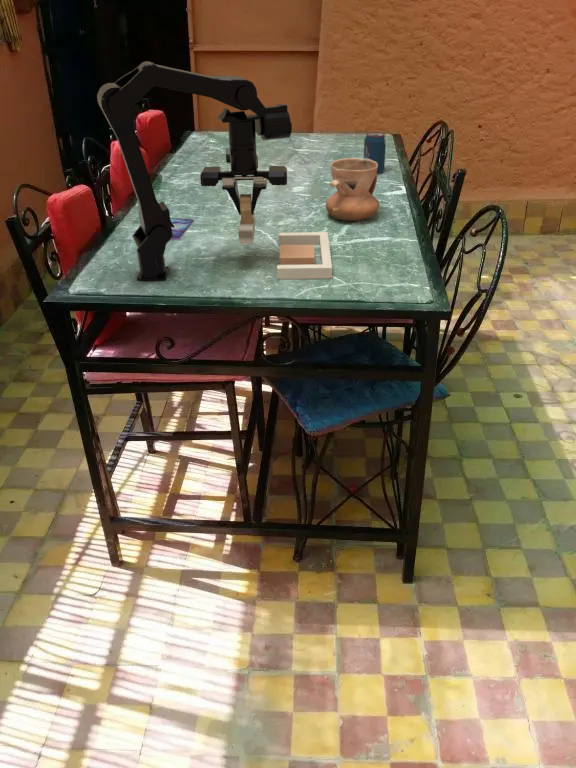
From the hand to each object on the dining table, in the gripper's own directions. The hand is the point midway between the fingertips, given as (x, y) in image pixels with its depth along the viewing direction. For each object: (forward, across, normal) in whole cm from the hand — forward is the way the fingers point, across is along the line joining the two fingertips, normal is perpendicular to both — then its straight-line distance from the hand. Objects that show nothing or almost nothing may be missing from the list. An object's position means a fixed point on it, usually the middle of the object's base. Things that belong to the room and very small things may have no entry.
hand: (246, 214), depth 144 cm
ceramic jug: (+11, -27, -30) cm, 42 cm away
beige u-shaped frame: (+11, -12, 0) cm, 16 cm away
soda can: (+11, -37, -73) cm, 82 cm away
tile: (+11, -11, 0) cm, 16 cm away
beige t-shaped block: (+5, 0, 0) cm, 5 cm away
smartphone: (+12, +21, -21) cm, 32 cm away
